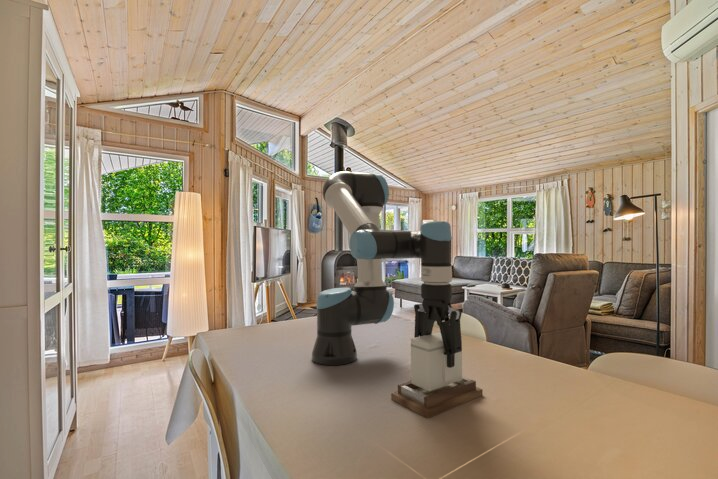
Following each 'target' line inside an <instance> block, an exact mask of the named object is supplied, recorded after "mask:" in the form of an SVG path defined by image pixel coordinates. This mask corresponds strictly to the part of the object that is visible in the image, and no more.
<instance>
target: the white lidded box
mask: <svg viewBox="0 0 718 479" xmlns="http://www.w3.org/2000/svg"><path fill="white" fill-rule="evenodd" d="M462 338H463V336H462V335H461V343H462V344H463V339H462ZM444 352H445V348H444V344H443V340H442V336H441V332H440V331H439V332H434V333H432V334H430V335H425V336H419V337H415V338H414V337H412V338H410V381H411V383H412V384H414V385H416V386H418V387H421V388H423V389H425V390H428V391H432V390H434V389H437V388H440V387H443V386H446V385H449V384H451V383H454V382H457V381H460V380H462V376H463V350H462V351H461V352H458V353H455V362H454V363H455V365H454V367H453V379H451V380H448V381H443V353H444Z"/></svg>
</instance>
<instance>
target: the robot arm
mask: <svg viewBox="0 0 718 479" xmlns="http://www.w3.org/2000/svg"><path fill="white" fill-rule="evenodd" d="M321 192H322V197H323V200H324V202H325V203H326V205H327V206H328V207H329V208H331V209H333V211H334V212H335V213H336V215H337V216H338V218H339V220H340V221H341V223H342V225H343V226H344V228H345V229H346V231H347V232H348V233H349V235H350V237H349V243H348V246H349V250H350V254H351V256H352V258H354V259H356V261H357V282H356V283H355V284H354V286H353V291H352V289H351V287H335V288H328V289H326V290H325V289H324V290H323V291H320V292H319V293H318V295H317V297H316V298H317V299H316V330H317V332H316V339H315V341H314V344H313V349H312V352H311V359H312V362H314V363H316V364H318V365H324V366H341V365H347V364H352V363H353V362H355V361H356V360H357V356H358V354H357V353H358V352H357V348H356V345H355V342H354V339H353V335H352V327H353V326H362V325H370V324H372V325H373V324H374V325H377V324H378V325H379V323H380V324H381V323H385V322H387V321H388V320H390V318H391V317H392V316H393V313H394V312H393V311H394V308H395V300H394V296H393V293H392V291H391V289H388V288H387V284H386V283H385V281H383V274H382V260H383V259H385V260H386V259H387V260H388V259H389V260H390V259H393V260H394V259H397V260H398V259H420V262H421V263H420V274H421V275H420V279H421V282H422V283H421V284H420V289H421V290H420V291H421V293H420V294H421V295H420V297H421V298H422V303H417V304H414V305H413V308H414V316H415V317H414V337H413V338H415V337H420V336H425V335H430V334H433V329H434V325H435V323H436V324H437V326H438V327H439V332H441V336H442V340H443V344H444V348H445V352H444V353H443V381H448V380H451V379H453V367H454V365H455V363H454V362H455V353H458V352H461V351H462V352H463V342H462V343H461V336H462V331H461V330H462V329H461V318H462V314H463V313H462V311H461V310H460V309H458V310H457V309H455V308H453V306H452V304H451V300H452V299H453V298H452V297H453V295H452V294H453V292H452V288H453V286H452V284H451V282H453V279H452V278H453V275H452V274H453V273H452V240H453V236H452V227H451V226H452V225H451V223H449V222H448V221H442V220H441V221H438V220H437V221H435V220H434V221H432V220H431V221H424V222H422V223H421V225H420V230H381V226H380V214H381V212H382V211H384V206H385V205H386V204H388V201H389V199H388V198H389V197H390V189H389V185H388V182H387V180H386V178H385V177H384V176H383V175H382V174H378V173H373V172H359V171H358V172H357V171H355V172H354V171H348V170H343V171H337V172H335V173H333V174H331V175H329V177H328V178H327V179H326V180H325V182H324V183H323V185H322V191H321Z"/></svg>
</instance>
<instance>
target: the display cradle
mask: <svg viewBox="0 0 718 479" xmlns="http://www.w3.org/2000/svg"><path fill="white" fill-rule="evenodd" d="M390 394H391V397H390V399H391V401H394V402H396V403H397V404H400V406H403V407H405V408H406V409H410V411H413V412H414V413H417V414H419V415H420V416H422V417H424V418H426V419H428V418H432V417H433V416H436V415H438V414H441V413H444V412H446V411H449V410H450V409H452V408H455V407H458V406H461V405H462V404H463V405H464V404H465V403H468V402H470V401H472V400H474V399H477V398H480V397H482V396H483V394H484V393H483V388H481V387H478V386H477V381H476V380H475V379H470V378H468V377H465V376H463V375H462V380H460V381H457V382H454V383H451V384H449V385H446V386H443V387H440V388H437V389H434V390H432V391H428V390H425V389H423V388H421V387H418V386H416V385H414V384H412V383H411V380H409V381H406V382H403V383H400V384H397V391H394V392H391V393H390Z"/></svg>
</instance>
